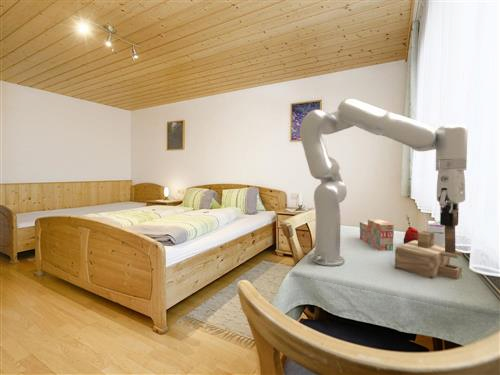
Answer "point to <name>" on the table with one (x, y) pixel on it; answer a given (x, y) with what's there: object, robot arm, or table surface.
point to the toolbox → (426, 265)
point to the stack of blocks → (377, 234)
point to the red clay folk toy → (410, 234)
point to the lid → (426, 246)
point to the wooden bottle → (451, 235)
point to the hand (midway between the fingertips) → (449, 224)
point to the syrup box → (437, 232)
